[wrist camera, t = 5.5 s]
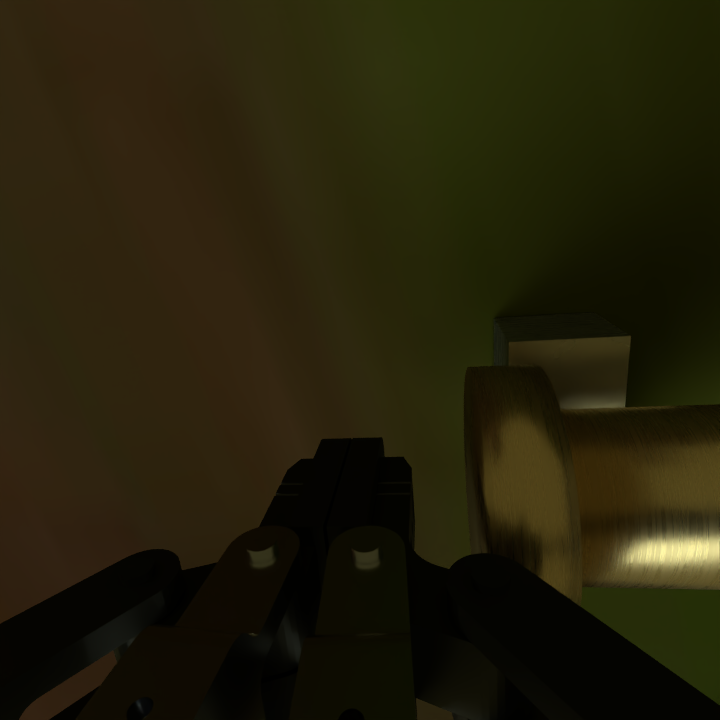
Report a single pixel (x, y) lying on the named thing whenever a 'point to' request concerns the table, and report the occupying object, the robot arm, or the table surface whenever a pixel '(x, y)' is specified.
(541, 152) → the table surface
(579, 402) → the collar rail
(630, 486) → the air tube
